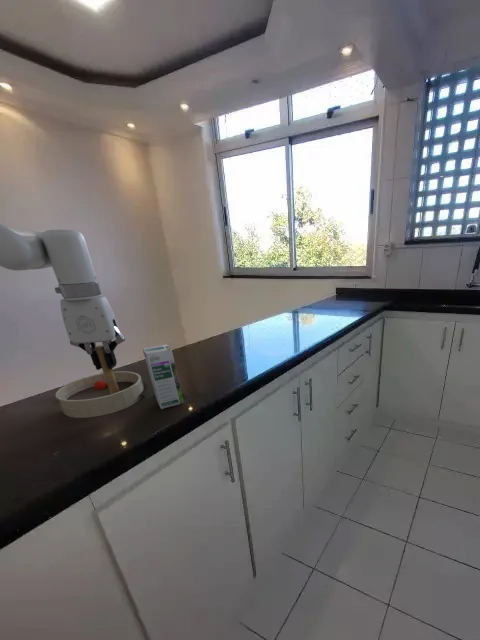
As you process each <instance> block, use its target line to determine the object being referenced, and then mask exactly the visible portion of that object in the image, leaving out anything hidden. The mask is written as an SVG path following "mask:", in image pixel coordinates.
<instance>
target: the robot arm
mask: <svg viewBox="0 0 480 640" xmlns="http://www.w3.org/2000/svg"><path fill="white" fill-rule="evenodd" d="M0 267H1V268H3V269H7V270H11V271H16V272H17V271H18V272H19V271H29V270H42V269H43V270H44V269H47V268H52V270H53V272H54V274H55V278H56V281H57V286H55V288H54V292H55V293H56V294H60V295H61V297H62V299H61V298H60V300H59V302H60V303H59V304H60V311H61V316H62V320H63V324H64V328H65V332H66V334H67V338H68V339H69V344H70V345H71V346H73V347H77V348H80V349H82V350H83V351H84V352H86V354H87V355H90V358H91V361H92V364H93V366H94V367H95V370H97V371H100V370H102V367H101V364H100V362H99V359H98V356H97V353H96V350H95V346H97V344H96V343H102V344H101V345H103V347H104V349H105V354H104V357H105V360H106V363H107V366H108V368H109V369H114V368H115V367H116V366H117V363H118V360H117V358H116V354H115V352H114V351H115V350H116V348H117V346H118V345H120V344H122V343H124V342H125V341H126V337H125V336H124V335H123V333H122V332H121V331H120V326H119V323H118V321H117V318H116V315H115V313H114V311H113V308H112V307H111V304H110V302H109V300H108V298H107V297H106V295H103V294H102V291H101V287H100V284H99V281H98V277H97V274H96V270H95V267H94V264H93V261H92V257H91V254H90V251H89V247H88V244H87V242H86V237H84V235H83V233H81V232H80V231H79V230H75V229H74V230H73V229H48V230H45V231H36V230H35V231H34V230H26V229H19V228H18V229H17V228H10V227H8V226H6V225H5V224H3V223H2V222H0Z"/></svg>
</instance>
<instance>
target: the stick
mask: <svg viewBox="0 0 480 640" xmlns="http://www.w3.org/2000/svg"><path fill="white" fill-rule="evenodd" d="M95 350H96V353H97V356H98V359H99V362H100V364H101V367H102V368H101V371H102V373H104V376H105V379H106V382H107V389H108V390H109V395H111V394H114V393H117V392H120V391H121V390H120V388H119V385H118V382H116V378H115V375H114V372H115V371H114V370H113V369H114V368H112V369H109V368H108V366H107V363H106V360H105V357H104V354H105V349H104V347H103V344H99V345H96V346H95Z"/></svg>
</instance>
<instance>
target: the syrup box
mask: <svg viewBox="0 0 480 640" xmlns="http://www.w3.org/2000/svg"><path fill="white" fill-rule="evenodd" d="M142 352H143V356H144V361H145V363H146V366H147V371H148V374H149V377H150V381H151V384H152V388H153V393H154V395H155V400H156V402H157V404H158V406H159V409H160V410H164V409H167V408H171V407H175V406H178V405H183V404H185V401H184V396H183V392H182V388H181V384H180V380H179V375H178V371H177V366H176V362H175V358H174V354H173V350H172V348H171V347H170V345H168V344H161V345H156V346H151V347H143V348H142Z"/></svg>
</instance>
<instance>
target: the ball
mask: <svg viewBox="0 0 480 640" xmlns="http://www.w3.org/2000/svg"><path fill="white" fill-rule="evenodd" d="M93 388H94V389H95V391H103V390H105V389H108V385H107V384H106V383H105V382H104V381H97V382H96V383H95V384H94V387H93Z"/></svg>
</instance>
